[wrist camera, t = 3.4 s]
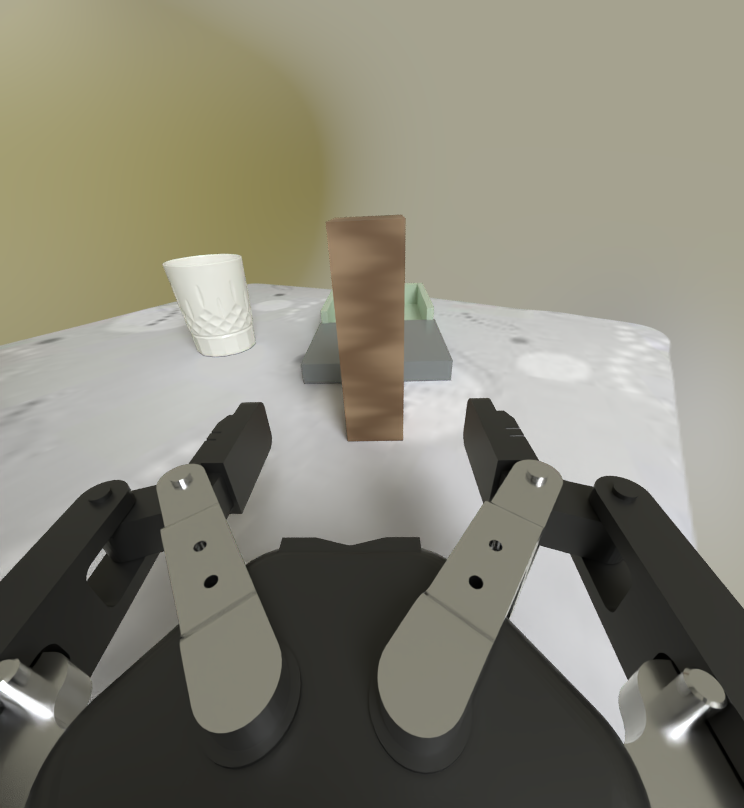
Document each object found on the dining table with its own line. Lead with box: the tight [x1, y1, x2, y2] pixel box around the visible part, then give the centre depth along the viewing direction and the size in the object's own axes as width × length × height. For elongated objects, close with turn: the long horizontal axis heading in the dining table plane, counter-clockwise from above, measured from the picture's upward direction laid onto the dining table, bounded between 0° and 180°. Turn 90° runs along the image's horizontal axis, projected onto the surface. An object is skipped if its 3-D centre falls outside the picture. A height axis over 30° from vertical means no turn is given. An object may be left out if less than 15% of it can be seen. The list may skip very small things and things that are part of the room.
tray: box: [321, 283, 434, 323], centre depth 46 cm, size 14×13×4 cm
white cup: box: [163, 254, 256, 357], centre depth 38 cm, size 8×8×10 cm
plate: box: [301, 319, 453, 383], centre depth 36 cm, size 14×12×2 cm
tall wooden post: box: [326, 215, 405, 441], centre depth 22 cm, size 4×4×14 cm
